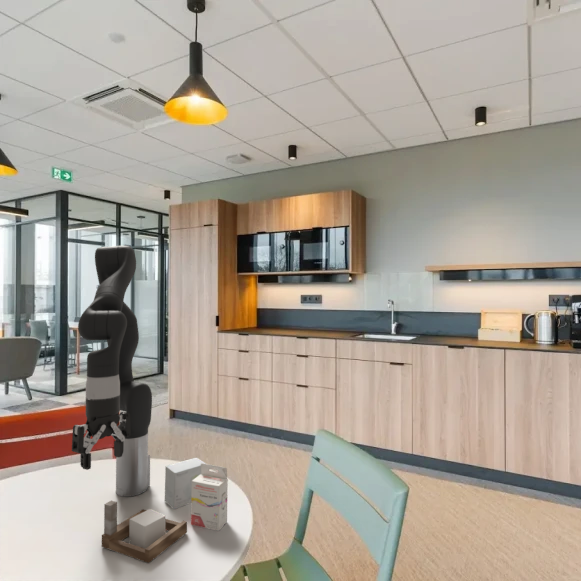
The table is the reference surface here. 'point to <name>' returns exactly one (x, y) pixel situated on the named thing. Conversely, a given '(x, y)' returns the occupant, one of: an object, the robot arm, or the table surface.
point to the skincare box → (181, 481)
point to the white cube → (146, 528)
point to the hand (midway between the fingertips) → (102, 462)
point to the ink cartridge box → (209, 498)
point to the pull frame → (121, 531)
